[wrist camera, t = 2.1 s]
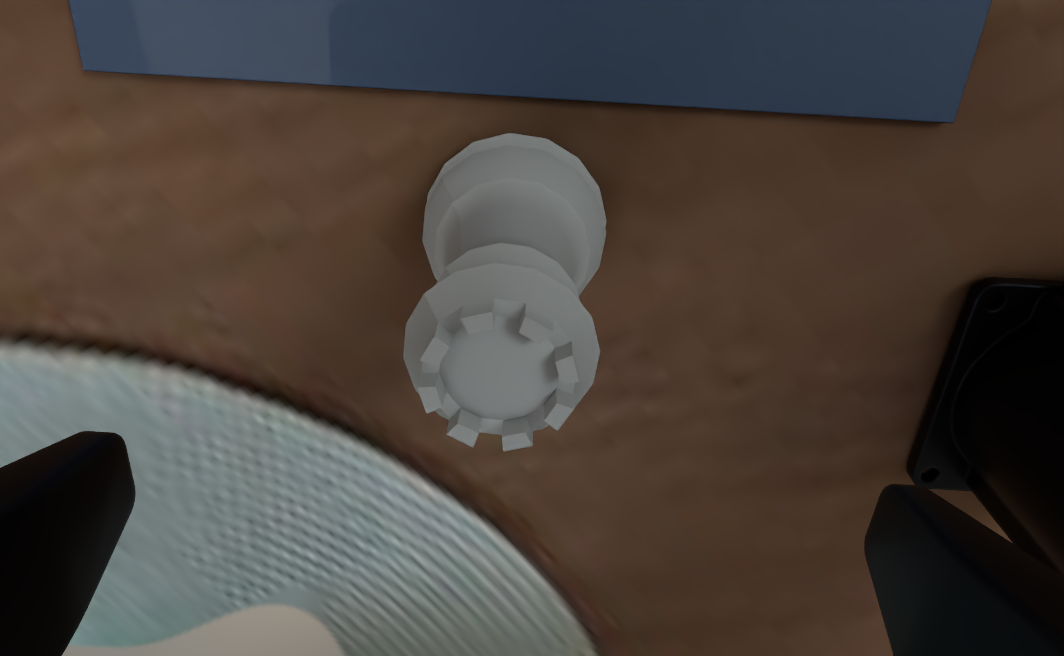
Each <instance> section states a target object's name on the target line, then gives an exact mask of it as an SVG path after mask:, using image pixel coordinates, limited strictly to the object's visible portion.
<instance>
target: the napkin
mask: <svg viewBox="0 0 1064 656" xmlns="http://www.w3.org/2000/svg"><path fill="white" fill-rule="evenodd" d="M991 1H992V0H69V4H70V9H71V14H72V19H73V23H74V28H75V33H76V38H77V42H78V47H79V52H80V57H81V62H82V66H83V70H85V71H98V72H115V73H132V74H148V75H165V76H181V77H198V78H214V79H231V80H247V81H264V82H281V83H297V84H314V85H330V86H347V87H363V88H380V89H396V90H413V91H429V92H446V93H463V94H479V95H496V96H512V97H529V98H545V99H562V100H578V101H595V102H611V103H628V104H645V105H661V106H678V107H694V108H711V109H727V110H744V111H760V112H777V113H793V114H810V115H827V116H843V117H860V118H876V119H893V120H909V121H926V122H942V123H954V120H955V117H956V114H957V111H958V107H959V104H960V101H961V98H962V94H963V91H964V88H965V85H966V82H967V78H968V75H969V72H970V69H971V65H972V62H973V59H974V56H975V52H976V49H977V46H978V43H979V40H980V36H981V33H982V30H983V27H984V23H985V20H986V17H987V14H988V10H989V7H990V4H991Z"/></svg>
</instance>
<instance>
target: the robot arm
mask: <svg viewBox="0 0 1064 656" xmlns="http://www.w3.org/2000/svg"><path fill="white" fill-rule="evenodd" d="M996 292H997V296H996V298H995V299H994V300H993V301H991V302H990V303H986V304H985V300H986V299H987V297H988V296H989V295H991V294H993V293H996ZM928 468H931V470H930V471H928V472H926V473H923V471H924V470H926V469H928ZM906 471H907V473H908V475H909V477H910V478H911V480H912V481H913V482H914V484H915V485H901V484H890V485H888V486H886V487H885V488H884V489H883V490H882V492H881V494H880V496H879V499H878V502H877V505H876V508H875V510H874V513H873V516H872V519H871V522H870V524H869V527H868V530H867V533H866V536H865V543H864V549H865V556H866V560H867V564H868V567H869V571H870V574H871V578H872V581H873V585H874V588H875V592H876V595H877V599H878V602H879V606H880V609H881V613H882V616H883V620H884V623H885V627H886V630H887V634H888V637H889V641H890V644H891V648H892V651H893V655H894V656H1064V281H1053V280H1036V279H1019V278H1001V277H990V278H984V279H982V280H980V281H978V282H977V283H976V284H975V285H973V286H972V287H971V289H970V291H969V292H968V295H967V297H966V300H965V303H964V306H963V309H962V311H961V314H960V317H959V320H958V323H957V326H956V328H955V331H954V334H953V337H952V340H951V342H950V345H949V348H948V351H947V354H946V357H945V359H944V362H943V365H942V368H941V371H940V373H939V376H938V379H937V382H936V385H935V388H934V390H933V393H932V396H931V399H930V402H929V405H928V407H927V410H926V413H925V416H924V419H923V421H922V424H921V427H920V430H919V433H918V436H917V438H916V441H915V444H914V447H913V450H912V452H911V455H910V458H909V461H908V464H907V469H906ZM916 485H917V486H916ZM929 489H941V490H960V491H972V492H973V493H974V494H975V496H976V497H977V498H978V500H979V501H980V502H981V503H982V505H983V506H984V507H985V508H986V510H987V511H988V512H989V513H990V515H991V516H992V517H993V518H994V520H995V521H996V522H997V524H998V525H999V526H1000V527H1001V529H1002V530H1003V531H1004V532H1005V534H1006V535H1007V536H1008V537H1009V539H1010V540H1011V541H1012V542H1013V543H1011V542H1010V541H1008V540H1006V539H1005V538H1003V537H1002V536H1000V535H999V534H997V533H996V532H994V531H992V530H991V529H989V528H988V527H986V526H985V525H983V524H982V523H980V522H978V521H977V520H975V519H974V518H972V517H971V516H969V515H968V514H966V513H964V512H963V511H961V510H960V509H958V508H957V507H955V506H953V505H952V504H950V503H949V502H947V501H946V500H944V499H943V498H941V497H939V496H938V495H936V494H935V493H933V492H932V491H930V490H929ZM134 502H135V485H134V480H133V476H132V471H131V467H130V462H129V458H128V453H127V449H126V445H125V442H124V440H123V438H122V437H121V436H120V435H118V434H116V433H109V432H94V431H83V432H79V433H77V434H74V435H72V436H70V437H68V438H66V439H63V440H61V441H59V442H57V443H54V444H52V445H50V446H48V447H46V448H43V449H41V450H39V451H37V452H35V453H32V454H30V455H28V456H26V457H23V458H21V459H19V460H17V461H15V462H12V463H10V464H8V465H6V466H3V467H1V468H0V656H62V654H63V652H64V651H65V649H66V648H67V646H68V644H69V642H70V640H71V639H72V637H73V635H74V633H75V631H76V630H77V628H78V626H79V624H80V622H81V620H82V618H83V616H84V614H85V612H86V610H87V608H88V606H89V604H90V601H91V599H92V597H93V595H94V593H95V591H96V588H97V586H98V584H99V582H100V580H101V577H102V575H103V573H104V571H105V569H106V566H107V564H108V562H109V560H110V558H111V555H112V553H113V551H114V549H115V547H116V544H117V542H118V540H119V538H120V536H121V534H122V531H123V529H124V527H125V525H126V523H127V520H128V518H129V516H130V514H131V512H132V509H133V506H134Z"/></svg>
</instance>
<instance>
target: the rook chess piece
mask: <svg viewBox="0 0 1064 656" xmlns="http://www.w3.org/2000/svg"><path fill="white" fill-rule="evenodd" d="M606 222H607V221H606V216H605V211H604V207H603V202H602V197H601V193H600V188H599V186H598V185H597V183H596V182H595V180H594V179H593V178H592V176H591V175H590V173H589V172H588V171H587V169H586V168H585V166H584V165H583V164H582V162H581V161H580V159H579V158H578V157H576V156H574V155H573V154H571V153H570V152H568V151H566V150H565V149H563V148H561V147H560V146H558V145H556V144H555V143H553V142H552V141H550V140H548V139H546V138H540V137H533V136H527V135H520V134H514V133H507V134H503V135H499V136H495V137H491V138H487V139H483V140H479V141H475V142H473V143H471V144H470V145H469V146H467V147H466V148H465V149H463V150H462V151H461V152H460V153H458V154H457V155H456V156H454V157H453V158H452V159H450V160H449V161H448V162H446V163H445V164H444V166H443V168H442V169H441V171H440V173H439V175H438V177H437V179H436V180H435V182H434V184H433V186H432V188H431V189H430V191H429V193H428V196H427V204H426V206H425V215H424V227H423V238H422V242H423V245H424V248H425V251H426V254H427V257H428V260H429V263H430V266H431V269H432V272H433V274H434V277H435V279H436V280H437V283H436V285H435V286H434V287H433V288H431V289H430V290H428V291H427V292H425V293H424V294H423V296H422V298H421V299H420V301H419V303H418V305H417V306H416V308H415V310H414V311H413V313H412V315H411V316H410V318H409V320H408V322H407V323H406V330H405V343H404V355H403V359H404V361H405V364H406V367H407V369H408V372H409V375H410V377H411V380H412V383H413V385H414V388H415V390H416V391H417V392H418V393H419V395H420V397H421V400H422V403H423V405H424V408H425V411H426V413H429V412H432V411H434V410H435V411H436V412H437V413H438V414H439V415H440V416H442V417H444V418H446V419H448V420H449V424H448V429H447V435H449V436H451V437H453V438H455V439H457V440H459V441H461V442H463V443H465V444H467V445H469V446H471V447H474V444H475V442H476V439H477V437H478V434H479V432H482V433H489V434H497V435H502V442H503V451H508V450H513V449H518V448H524V447H529V446H533V431H535V430H540V429H543V428H545V427H547V426H548V425H550V426H552V427H553V428H554V429H556V430H557V431H558V430H559V428H560V427H561V426H562V424H563V423H564V422H565V420H566V419H567V418H568V416H569V415H570V414H571V412H572V411H573V410H574V408H575V407H576V406H577V404H578V403H579V402H580V400H581V399H582V398H583V396H584V395H585V394H586V393H587V391H588V390H589V389H590V387H591V386H592V385H593V381H594V377H595V372H596V368H597V363H598V359H599V354H600V349H599V344H598V340H597V336H596V332H595V327H594V323H593V319H592V317H591V315H590V314H589V313H588V311H587V310H586V309H585V308H584V306H583V305H582V304H581V302H580V300H579V296H580V294H581V293H582V291H583V290H584V289H585V287H586V286H587V284H588V283H589V281H590V280H591V278H592V277H593V276H594V274H595V273H596V271H597V270H598V268H599V267H600V262H601V257H602V252H603V247H604V243H605V238H606V230H605V227H606Z"/></svg>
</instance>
